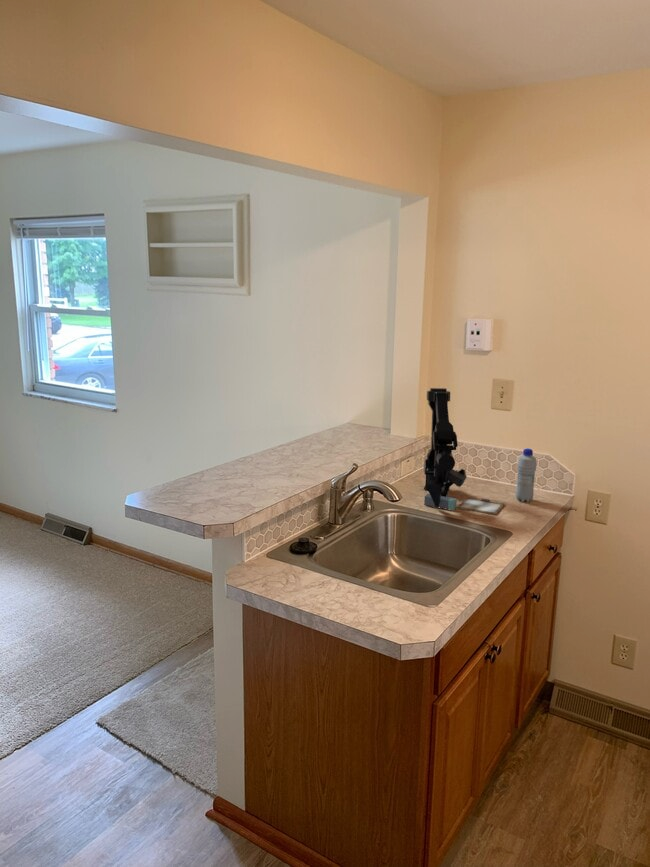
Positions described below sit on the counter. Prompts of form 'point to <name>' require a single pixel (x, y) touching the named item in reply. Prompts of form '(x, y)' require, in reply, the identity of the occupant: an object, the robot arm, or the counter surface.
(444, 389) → the robot arm
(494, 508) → the clipboard
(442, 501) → the teal-capped grey block
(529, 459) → the bottle
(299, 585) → the counter surface
